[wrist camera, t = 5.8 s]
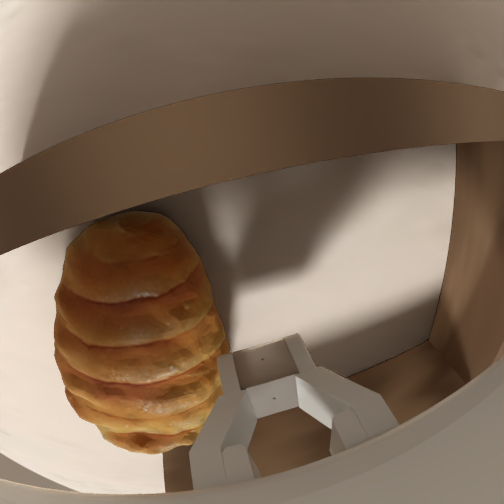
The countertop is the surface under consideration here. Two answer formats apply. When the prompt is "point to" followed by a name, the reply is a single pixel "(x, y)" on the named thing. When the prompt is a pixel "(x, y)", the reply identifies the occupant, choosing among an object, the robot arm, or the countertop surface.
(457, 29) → the countertop surface
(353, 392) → the robot arm
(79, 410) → the pastry
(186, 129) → the u-shaped wooden frame
